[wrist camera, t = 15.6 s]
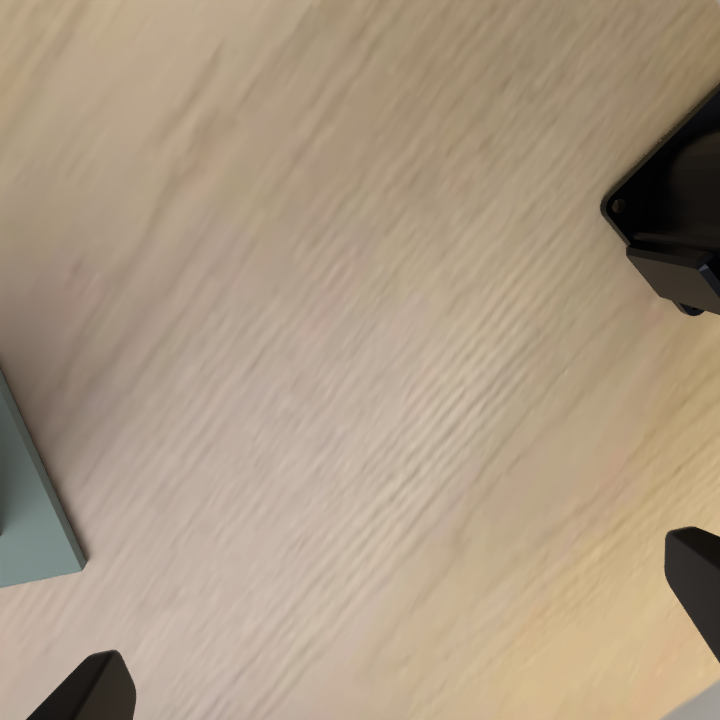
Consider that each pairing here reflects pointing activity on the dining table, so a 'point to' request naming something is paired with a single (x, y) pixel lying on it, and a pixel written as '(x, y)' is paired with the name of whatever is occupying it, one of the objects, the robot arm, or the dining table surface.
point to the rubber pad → (29, 508)
